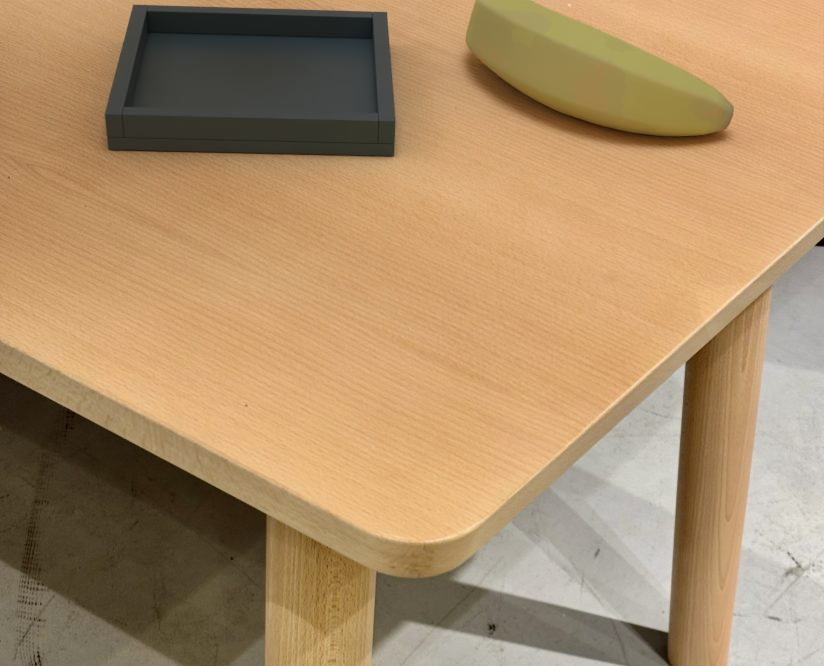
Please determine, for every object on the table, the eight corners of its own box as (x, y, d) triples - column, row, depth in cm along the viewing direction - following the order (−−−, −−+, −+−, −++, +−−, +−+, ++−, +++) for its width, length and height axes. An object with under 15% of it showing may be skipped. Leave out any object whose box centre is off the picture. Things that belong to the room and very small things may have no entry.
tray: (108, 150, 82) (104, 113, 80) (136, 37, 94) (133, 4, 92) (394, 156, 83) (395, 120, 82) (385, 44, 95) (387, 11, 93)
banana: (561, 38, 79) (448, -46, 95) (532, 131, 82) (426, 34, 97) (756, 79, 85) (618, -7, 100) (723, 165, 87) (594, 68, 103)
